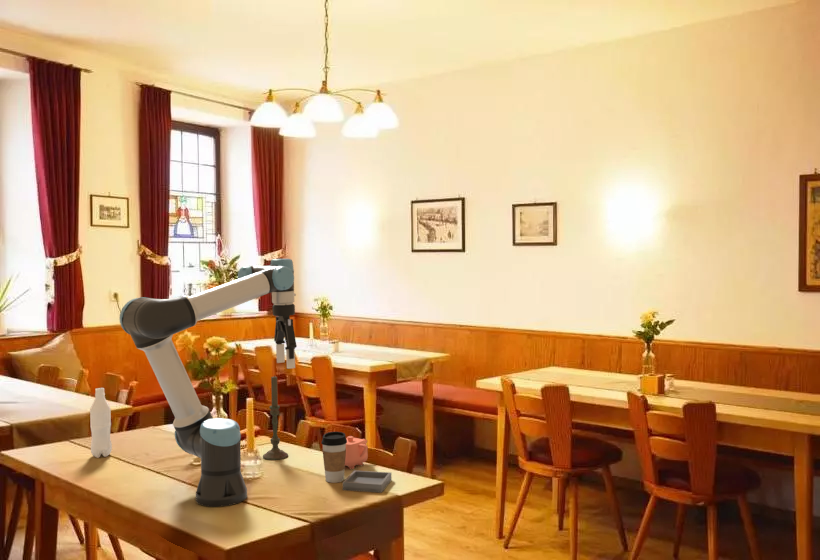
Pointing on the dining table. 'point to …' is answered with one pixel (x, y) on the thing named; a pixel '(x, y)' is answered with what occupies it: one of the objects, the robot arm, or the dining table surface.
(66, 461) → the dining table surface
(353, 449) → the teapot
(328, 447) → the coffee cup
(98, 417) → the water bottle
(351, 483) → the tray
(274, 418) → the candlestick holder
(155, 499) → the dining table surface
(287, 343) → the robot arm
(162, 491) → the dining table surface
